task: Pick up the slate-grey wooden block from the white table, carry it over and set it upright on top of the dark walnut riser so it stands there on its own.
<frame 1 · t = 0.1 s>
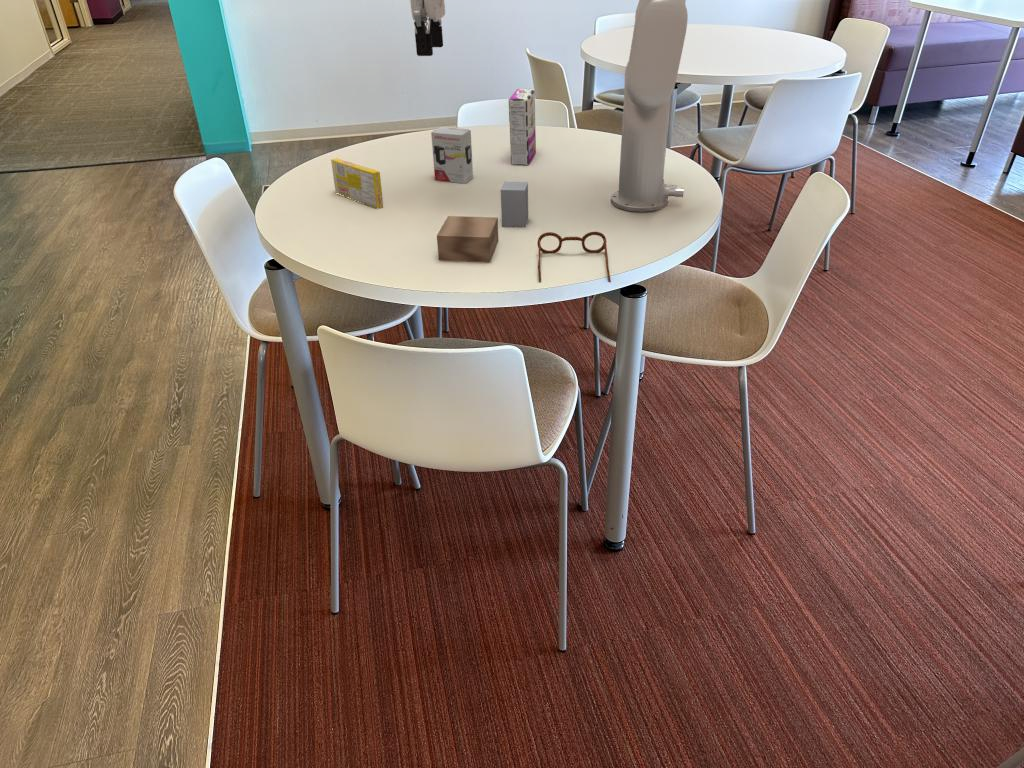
hand: (430, 51, 148), 31 cm above the table, tool pointing down, fingers open, 9 cm apart
ink box: (454, 180, 177), on the table
grey block: (515, 222, 152), on the table
walnut riser: (469, 250, 141), on the table
candy bar box: (523, 159, 188), on the table
glasses: (572, 269, 134), on the table
candy box: (359, 201, 166), on the table
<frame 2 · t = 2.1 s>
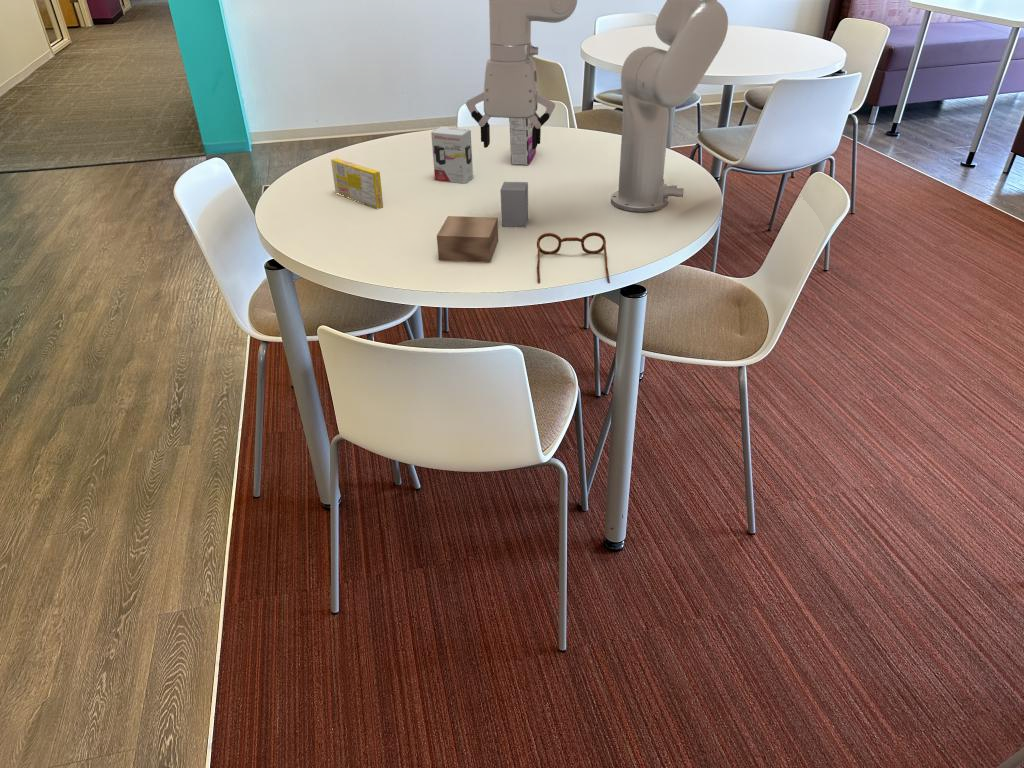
hand: (510, 146, 143), 16 cm above the table, tool pointing down, fingers open, 9 cm apart
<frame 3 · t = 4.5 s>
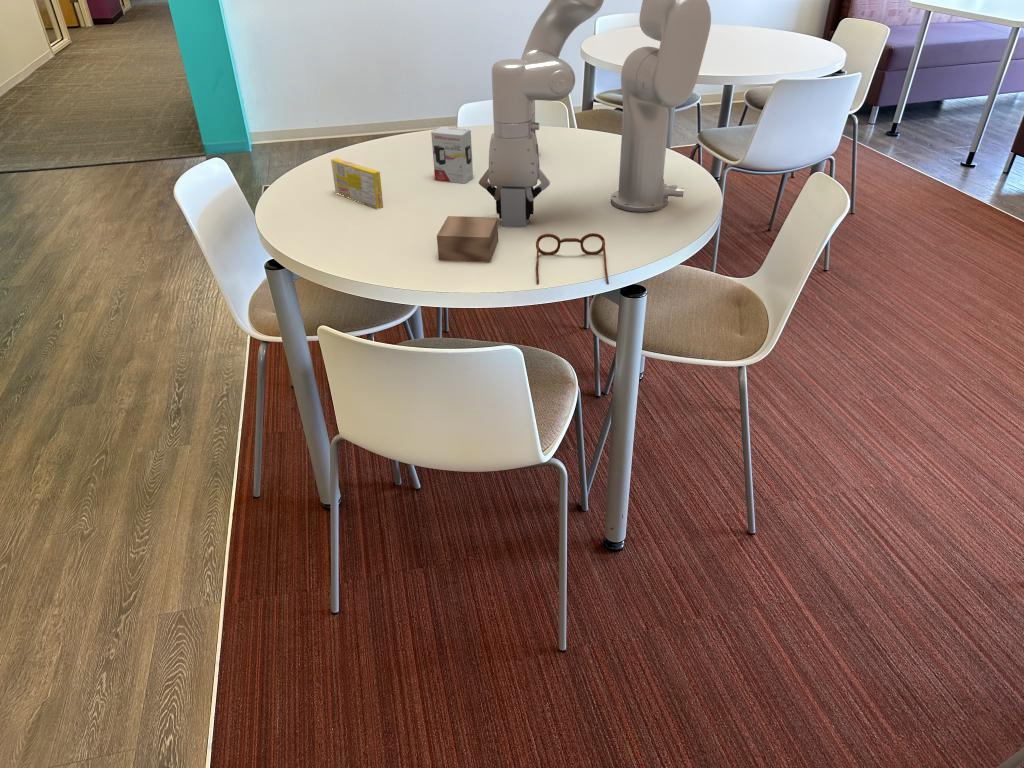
hand: (515, 216, 151), 1 cm above the table, tool pointing down, fingers closed on grey block, 5 cm apart
grey block: (515, 222, 152), on the table, touching gripper
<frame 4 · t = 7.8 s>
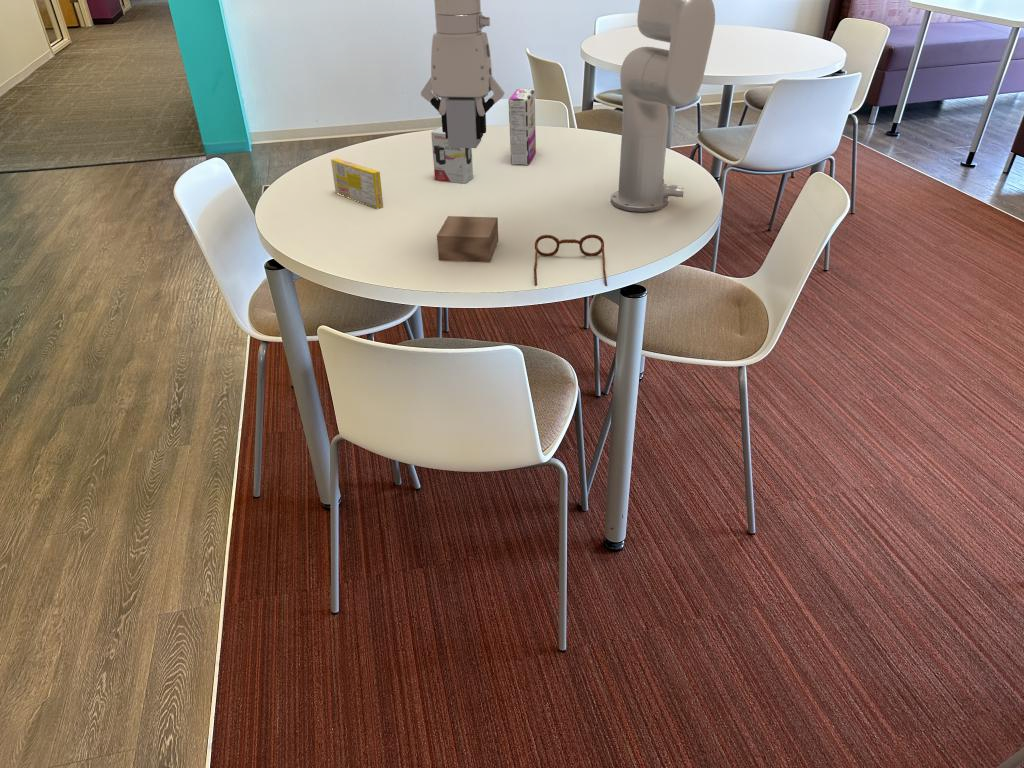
hand: (464, 135, 129), 22 cm above the table, tool pointing down, fingers closed on grey block, 5 cm apart
grey block: (465, 143, 130), point 20 cm above the table, touching gripper
when the fingers open (8 cm above the table, at t = 11.3 s): grey block drops 1 cm, resting on walnut riser.
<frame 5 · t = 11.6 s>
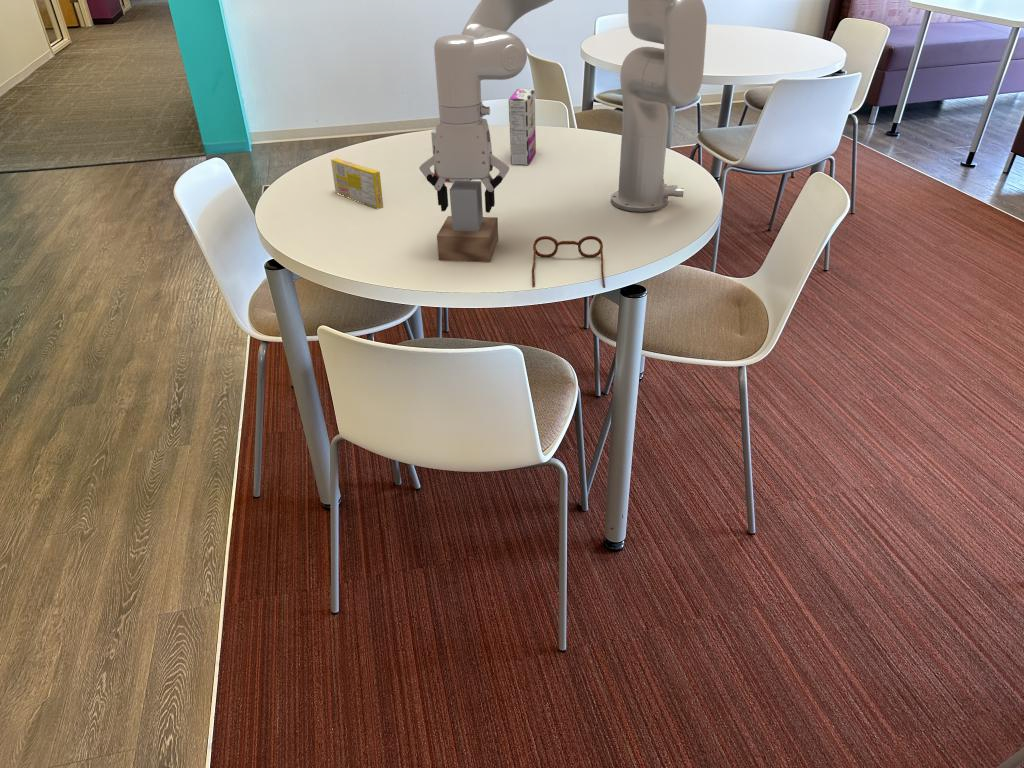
hand: (466, 209, 136), 8 cm above the table, tool pointing down, fingers open, 8 cm apart
grey block: (468, 226, 138), point 5 cm above the table, touching walnut riser
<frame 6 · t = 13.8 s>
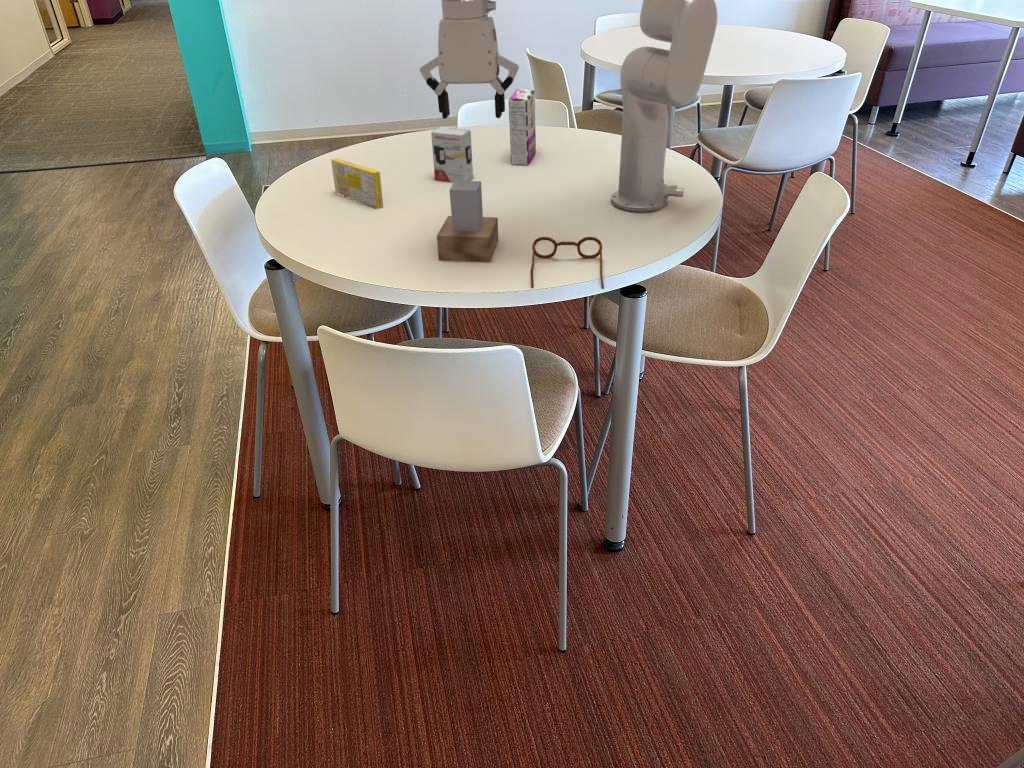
hand: (472, 116, 129), 25 cm above the table, tool pointing down, fingers open, 9 cm apart
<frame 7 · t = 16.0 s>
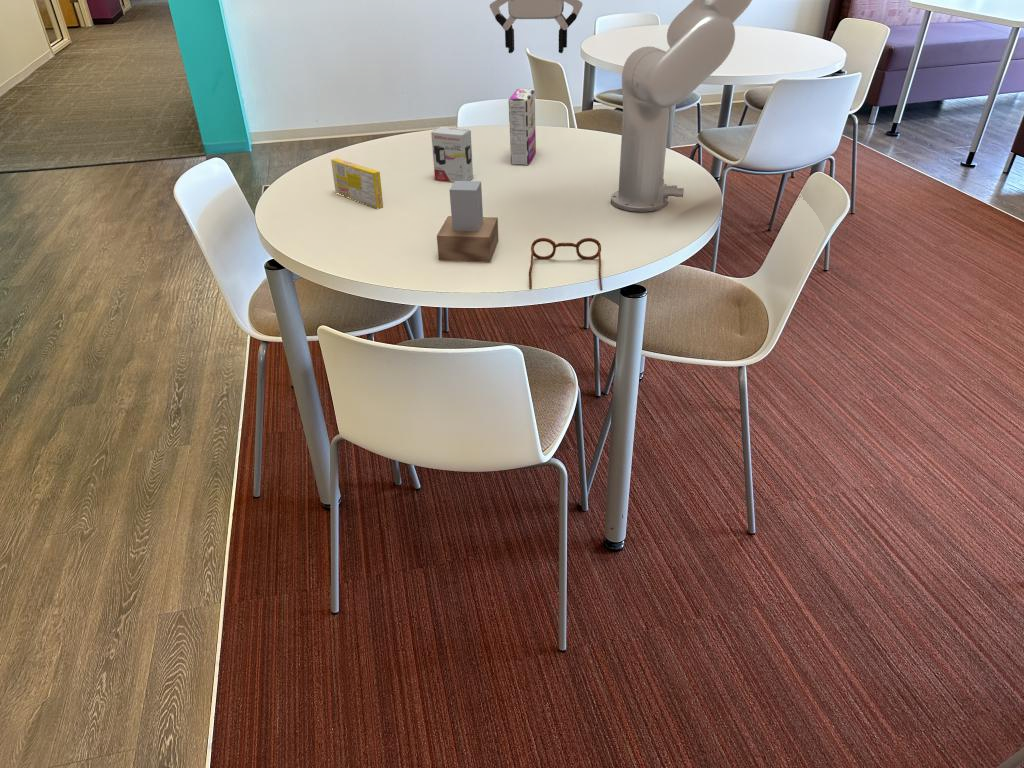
hand: (536, 51, 138), 32 cm above the table, tool pointing down, fingers open, 9 cm apart
at the end: grey block inside the target area on the walnut riser (0.1 cm from its centre), point 5.0 cm above the walnut riser's base; grey block tilted 0°; the gripper is holding nothing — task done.
